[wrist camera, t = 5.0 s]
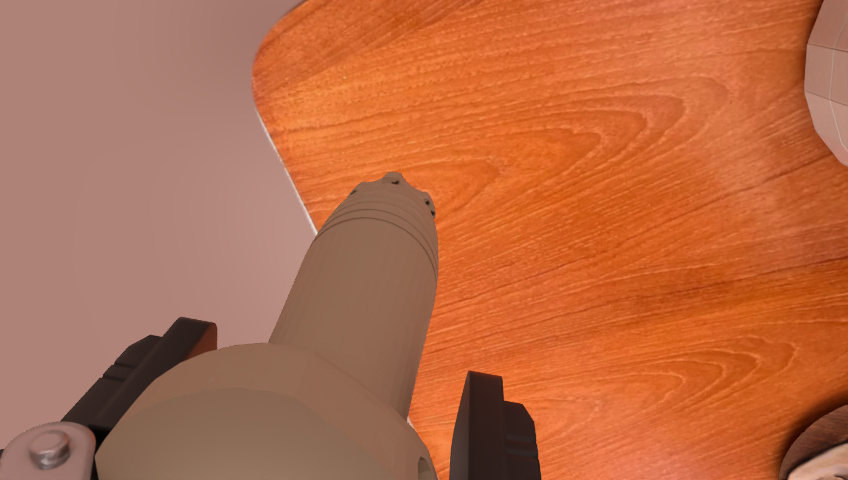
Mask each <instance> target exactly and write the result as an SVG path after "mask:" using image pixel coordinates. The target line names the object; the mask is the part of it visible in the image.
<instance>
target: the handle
mask: <svg viewBox="0 0 848 480" xmlns="http://www.w3.org/2000/svg"><path fill="white" fill-rule="evenodd" d="M434 218H435V207H434V204H433V201H432V199H431V197H430V195H429V194H428V193H427V192H422V191H419V190H417V189H415V188H414V187H412V186H411V185H410V184H409V183H408V182H406V180H405V179H404V178H403V176H402V174H401V173H397V172H388V173H387V174H386V175H385V176H384V177H383V178H382V179H379V180H377V181H374V182H362V183H360V184H358V185H357V186H356V187H355V188H354V189H353V190H352V192H351V193H350V194H349V196H348V198H347V199H346V200H345V201H343V202H342V203H341V204H340V205H339V206H338V207H337V208H336V210H335V211H334V212H333V213H332V214H331V216H330V217H329V218H328V219H327V221H326V222H325V223H324V225H323V226H322V227H321V229H320V230H319V232H318V234H317V235H316V237H315V239H314V241H313V242H312V244H311V246H310V248H309V249H308V251H307V253H306V255H305V257H304V260H303V262H302V265H301V267H300V269H299V272H298V274H297V276H296V279H295V281H294V284H293V286H292V288H291V291H290V293H289V295H288V298H287V300H286V303H285V305H284V307H283V310H282V312H281V314H280V317H279V319H278V322H277V324H276V326H275V328H274V330H273V333H272V335H271V337H270V339H269V342H268V343H255V344H244V345H234V346H230V347H226V348H221V349H217V350H213V351H209V352H205V353H203V354H200V355H198V356H196V357H193V358H191V359H189V360H186V361H184V362H181V363H179V364H178V365H176V366H175V367H173V368H172V369H170V370H169V371H167V372H166V373H164V374H163V375H161V376H159V377H158V378H156V379H155V380H154V381H153V382H152V383H151V384H150V385H149V386H148V387H147V388H146V389H145V391H144V392H143V393H142V394H141V395H140V396H139V397H138V398H137V400H136V401H135V402H134V403H133V404H132V406H131V407H130V408H129V409H128V411H127V412H126V413H125V414H124V415H123V417H122V418H121V419H120V420H119V422H118V423H117V424H116V426H115V427H114V428H113V429H112V431H111V432H110V433H109V435H108V436H107V437H106V438H105V440H104V441H103V443H102V445H101V446H100V448H99V450H98V451H97V453H96V455H95V461H96V467H97V473H98V478H99V480H438V479H437V474H436V471H435V468H434V466H433V463H432V460H431V457H430V454H429V451H428V449H427V447H426V446H425V445H424V443H423V442H422V440H421V439H420V437H419V436H418V434H417V433H416V431H415V430H414V429H413V428H412V427H411V426H410V425H409V424H408V423H407V417H408V413H409V408H410V404H411V399H412V395H413V390H414V386H415V381H416V377H417V372H418V368H419V364H420V360H421V356H422V351H423V347H424V343H425V339H426V335H427V331H428V327H429V323H430V319H431V315H432V310H433V306H434V302H435V297H436V289H437V279H438V238H437V231H436V226H435V222H434Z"/></svg>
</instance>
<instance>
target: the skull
mask: <svg viewBox="0 0 848 480" xmlns="http://www.w3.org/2000/svg"><path fill="white" fill-rule="evenodd" d="M826 417H827V418H826ZM800 434H801V435H800V436H799V437H798V438H797V439H796V441H795V442H794V443H793V444H792V446H790V449H789V451H788V452H787V454H786V455H785V458H784V460H783V462H782V465H781V468H780V472H779V477H778V480H848V405H845V406H843V407H841V408H838V409H835V410H834V411H832V412H831V413H829V414H827V415H824V416H823V417H821V418H820V419H818V420H817V421H815V422H814V423H813V424H812V425H811V426H810V427H808V428H807V429H806V430H805V432H803V433H802V432H801V433H800Z"/></svg>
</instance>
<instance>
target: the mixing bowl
mask: <svg viewBox="0 0 848 480" xmlns="http://www.w3.org/2000/svg"><path fill="white" fill-rule="evenodd" d="M804 93H805V96H806V100H807V103H808V107H809V110H810V114H811V117H812V121H813V124H814V128H815V131H816V132H817V134H818V135H819V136H820V137H821V139H822V140H823V141H824V142H825V144H826V145H827V146H828V147H829V149H830V150H831V151H832V152H833V154H834V155H835V156H836V157H837V159H838V160H839V161H840V162H841V163H842V164H844V165H846V166H847V167H848V0H824V1H823V4H822V6H821V9H820V12H819V14H818V17H817V19H816V22H815V25H814V27H813V30H812V32H811V35H810V37H809V40H808V44H807V52H806V67H805V81H804Z"/></svg>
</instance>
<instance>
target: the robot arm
mask: <svg viewBox="0 0 848 480" xmlns="http://www.w3.org/2000/svg"><path fill="white" fill-rule="evenodd" d="M213 350H217V326H216V324H215V323H212V322H207V321H201V320H196V319H190V318H185V317H180V318H178V319H177V320H176V321H175V322H174V324H173V325H172V326H171V327H170V328H169V330H168V331H167V332H166V333H165V334H164V335H163V337H159V336H154V335H149V336H147V337H145V338H144V339H142V340H140V341H138V342H136V343H134V344H132V345H131V346H129V347H128V348H127V349H126V350H125V351H124V352H123V353H122V354H121V355H120V357H119V358H118V359H117V360H116V361H115V363H114V365H111V366H110V368H108V370H107V371H106V372H105V373H104V374H103V377H102V378H99V379H98V380H97V382H96V383H95V384H94V385H93V386H92V387H91V388H90V389H89V390H88V392H86V394H85V395H84V396H83V397H82V398H81V399H80V400H79V401H78V402H77V403H76V404H75V406H74V407H73V408H72V409H71V410H70V411H69V412H68V413H67V414H66V415H65V416H64V418H63V419H62V420H61V421H60V422H52V423H47V424H42V425H39V426H36V427H33V428H31V429H29V430H26V431H25V432H23V433H21V434H20V435H18V436H17V437H15V438H14V439H13V440H12V441H11V442H10V443H9V444H8V445H7V447H6V448H5V449H1V450H0V480H99V478H98V473H97V467H96V461H95V455H96V453H97V451H98V450H99V448H100V446H101V445H102V443H103V441H104V440H105V438H106V437H107V436H108V435H109V433H110V432H111V431H112V429H113V428H114V427H115V426H116V424H117V423H118V422H119V420H120V419H121V418H122V417H123V415H124V414H125V413H126V412H127V411H128V409H129V408H130V407H131V406H132V404H133V403H134V402H135V401H136V400H137V398H138V397H139V396H140V395H141V394H142V393H143V392H144V391H145V389H146V388H147V387H148V386H149V385H150V384H151V383H152V382H153V381H154V380H155V379H156V378H158V377H159V376H161V375H163V374H164V373H166V372H167V371H169V370H170V369H172V368H173V367H175V366H176V365H178V364H179V363H181V362H184V361H186V360H189V359H191V358H193V357H196V356H198V355H200V354H203V353H205V352H209V351H213ZM449 480H541V472H540V464H539V459H538V449H537V444H536V433H535V425H534V421H533V420H532V418H531V416H530V415H529V413H528V412H527V410H526V409H525V407H524V406H523V404H519V403H514V402H509V401H504V395H503V380H502V377H501V376H496V375H491V374H486V373H480V372H475V371H468V373H467V377H466V381H465V385H464V389H463V393H462V398H461V402H460V406H459V410H458V415H457V419H456V423H455V428H454V433H453V439H452V446H451V457H450V476H449Z"/></svg>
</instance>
